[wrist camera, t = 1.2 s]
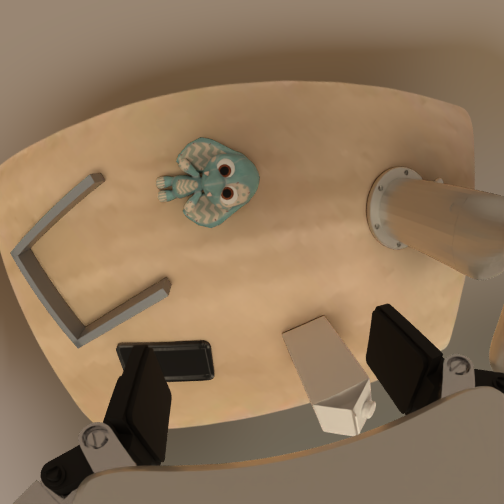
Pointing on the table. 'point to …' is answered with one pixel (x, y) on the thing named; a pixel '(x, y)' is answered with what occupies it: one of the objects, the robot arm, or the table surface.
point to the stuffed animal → (211, 182)
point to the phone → (177, 359)
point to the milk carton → (330, 377)
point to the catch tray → (49, 292)
